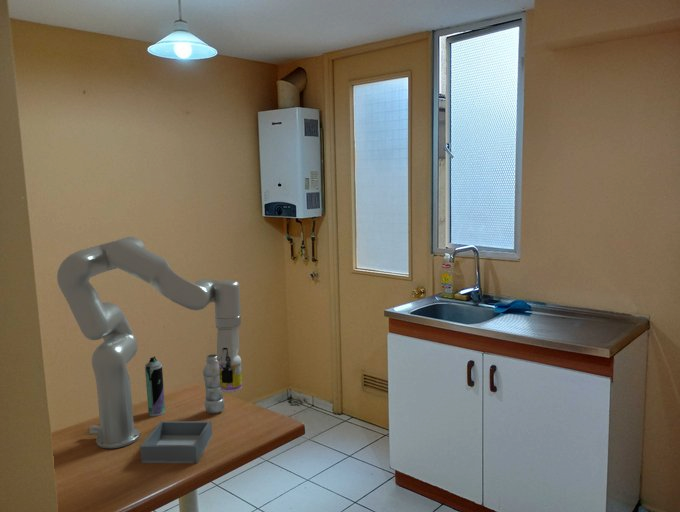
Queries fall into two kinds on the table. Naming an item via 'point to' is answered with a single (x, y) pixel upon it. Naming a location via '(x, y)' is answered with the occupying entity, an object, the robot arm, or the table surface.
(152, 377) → the spray can
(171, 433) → the box
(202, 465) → the table surface
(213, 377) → the plastic bottle
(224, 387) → the supplement bottle
